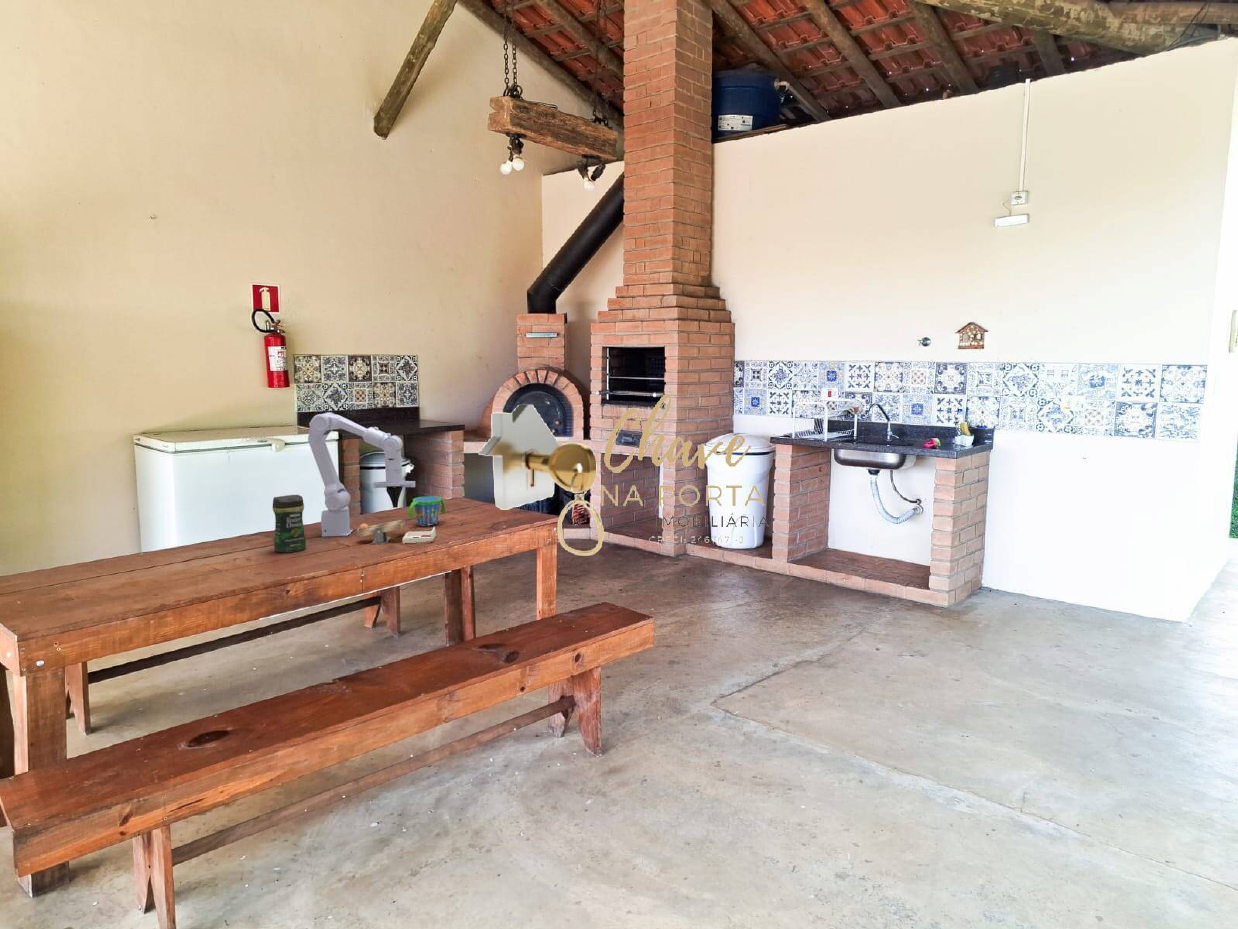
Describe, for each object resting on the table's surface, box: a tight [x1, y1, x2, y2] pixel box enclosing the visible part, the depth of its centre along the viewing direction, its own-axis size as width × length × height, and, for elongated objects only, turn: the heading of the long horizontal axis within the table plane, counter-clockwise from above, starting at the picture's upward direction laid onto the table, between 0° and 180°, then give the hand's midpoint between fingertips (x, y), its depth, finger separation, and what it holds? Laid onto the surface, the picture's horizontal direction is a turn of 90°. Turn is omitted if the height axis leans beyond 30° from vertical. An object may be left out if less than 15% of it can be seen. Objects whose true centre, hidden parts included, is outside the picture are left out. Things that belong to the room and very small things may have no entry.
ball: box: [359, 523, 369, 530], centre depth 280 cm, size 3×3×3 cm
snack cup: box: [408, 496, 446, 525], centre depth 306 cm, size 16×10×10 cm
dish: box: [402, 526, 436, 545], centre depth 282 cm, size 10×10×4 cm
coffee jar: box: [271, 494, 307, 553], centre depth 268 cm, size 10×8×19 cm
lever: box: [356, 518, 408, 538], centre depth 284 cm, size 15×13×2 cm
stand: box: [371, 529, 392, 545], centre depth 281 cm, size 5×9×5 cm, turn 7°
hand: (395, 507), depth 290 cm, fingers closed
